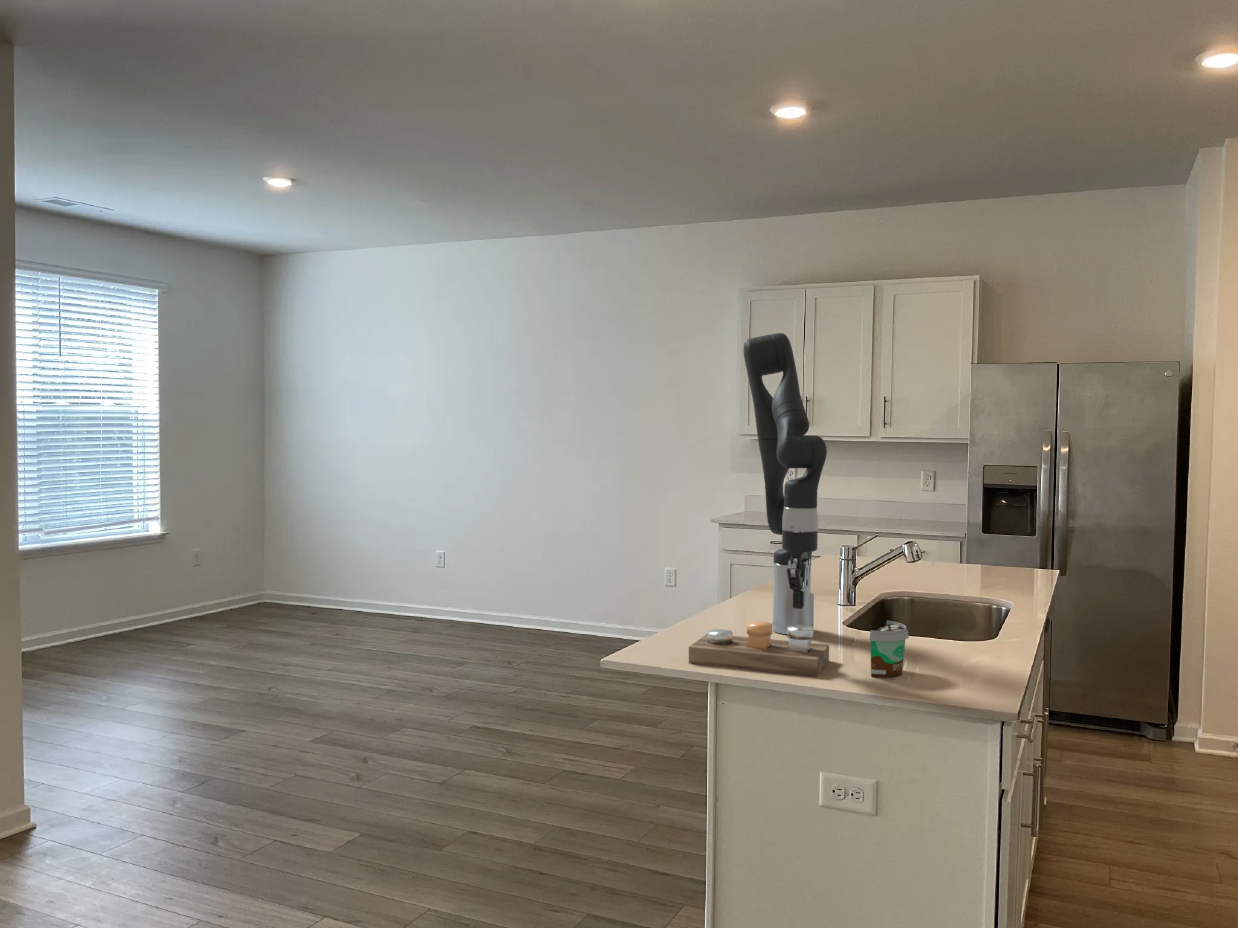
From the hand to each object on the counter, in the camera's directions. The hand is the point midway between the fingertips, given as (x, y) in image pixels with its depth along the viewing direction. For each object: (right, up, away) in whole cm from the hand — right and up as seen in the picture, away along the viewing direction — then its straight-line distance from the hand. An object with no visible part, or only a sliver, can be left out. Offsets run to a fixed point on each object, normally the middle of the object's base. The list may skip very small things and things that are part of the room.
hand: (798, 607), depth 211 cm
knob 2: (0, -10, +1) cm, 10 cm away
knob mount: (-8, -13, +4) cm, 15 cm away
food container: (+19, -13, -5) cm, 24 cm away
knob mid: (-8, -10, +4) cm, 13 cm away
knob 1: (-16, -12, +8) cm, 22 cm away
